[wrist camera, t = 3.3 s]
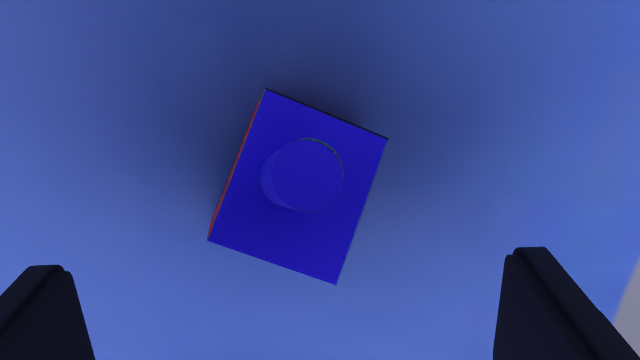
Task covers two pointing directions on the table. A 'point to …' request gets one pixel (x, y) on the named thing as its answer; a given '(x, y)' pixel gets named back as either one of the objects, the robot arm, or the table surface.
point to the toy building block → (297, 187)
